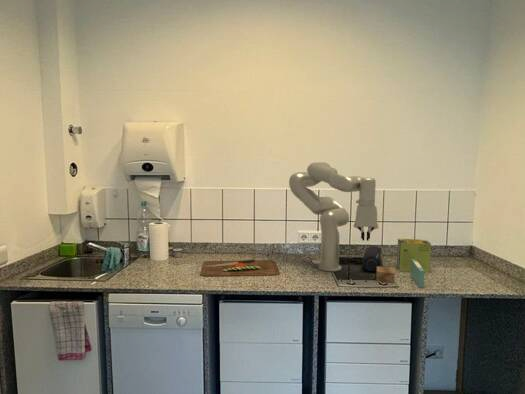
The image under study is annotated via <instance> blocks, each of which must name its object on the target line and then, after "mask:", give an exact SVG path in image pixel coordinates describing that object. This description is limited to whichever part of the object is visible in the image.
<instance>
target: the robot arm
mask: <svg viewBox="0 0 525 394" xmlns="http://www.w3.org/2000/svg"><path fill="white" fill-rule="evenodd" d="M321 182H322V183H326V184H328V185H329V186H330V187H331V188H332V189H335V190H337V191H341V192H343V193H353V192H358V193H359V194H358V199H356V200H355V204H358V205H357V206H356V211H355V219H354V220H355V222H354V224H353V228H355V229H357V230H359V231H360V239H361V240H362V241H365V230H364V228H367V227H368V228H367V231H366V241H367V242H369V240H370V239H371V233H372V232H373V230H376V229H379V225H378V210H377V206H376V182H377V181H376V178H374V177H361V176H346V175H345V176H344V175H341V174H339V173H338V170H337V169H336V168H334V167H331V165H330V164H329V163H328V162H324V161H323V162H320V161H319V162H312V163H310V164H309V165H308V166H307V169H306V171H304V172H301V171H300V172H296V173H292V174H291V175H290V177H289V181H288V185H289V188H290V191H291V193H292V194H293V196H295V197H296V198H297V199H298V200H299V201H301V203H302V204H303V205H304V206H305V207H306V208H307V209H308V210H309V211H310V212H312V213H313V214H314V215H317V216H319V224H320V233H321V235H320V239H321V240H320V241H321V242H320V258H319V259H312V261H311V263H312V264H314V265H317V268H318V270H321V271H322V272H323V271H324V272H338V271H341V270H342V269H343V268H342V266H341V265H340V263H339V262H340V233H339V227H343V226H346V225H347V224H348V223H349V221H350V214H349V212H348V211H347V210H346V209H345V208H344V207H343V205H341V204H340V203H338V202H337V201H336V200H335V199H334V198H332V197H330V196H319V195H318V194H316V193H315V191H313V190H312V189H310V187H311V188H312V187H314V186H316V185H318V184H319V183H320V184H321Z"/></svg>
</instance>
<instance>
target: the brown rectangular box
mask: <svg viewBox="0 0 525 394" xmlns="http://www.w3.org/2000/svg"><path fill="white" fill-rule="evenodd" d="M375 272H376V274H375V275H376V280H377V281H381V282H380V283H388V282H392V283H391V284H394V283H395V268H394V267H390V266H389V267H388V266H381V267H379V266H377V271H375ZM377 281H376V282H377Z"/></svg>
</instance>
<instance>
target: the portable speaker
mask: <svg viewBox="0 0 525 394" xmlns="http://www.w3.org/2000/svg"><path fill="white" fill-rule="evenodd" d="M383 256H384V252H383V250H382V249H381V248H380V247H379V246H377V245H370V246H368V247H367V248H366V249H365V252H364V253H363V257H362V259H361V260H362V261H361V263H362V266H363V268H364V270H365V271H368V272H377V266H379V267H382V263H383V259H384V258H383Z"/></svg>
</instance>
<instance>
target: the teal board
mask: <svg viewBox="0 0 525 394" xmlns="http://www.w3.org/2000/svg"><path fill="white" fill-rule="evenodd" d="M410 276H411V277H412V279H413V281H414V282H415V284H416V285H417V287H418V288H419V289H420V288H423V289H424V287H425V271H424V270H423V268H422V267H421V265H420V264H419V263H418V262H417V261H416V260H412V259H411V271H410Z"/></svg>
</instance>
